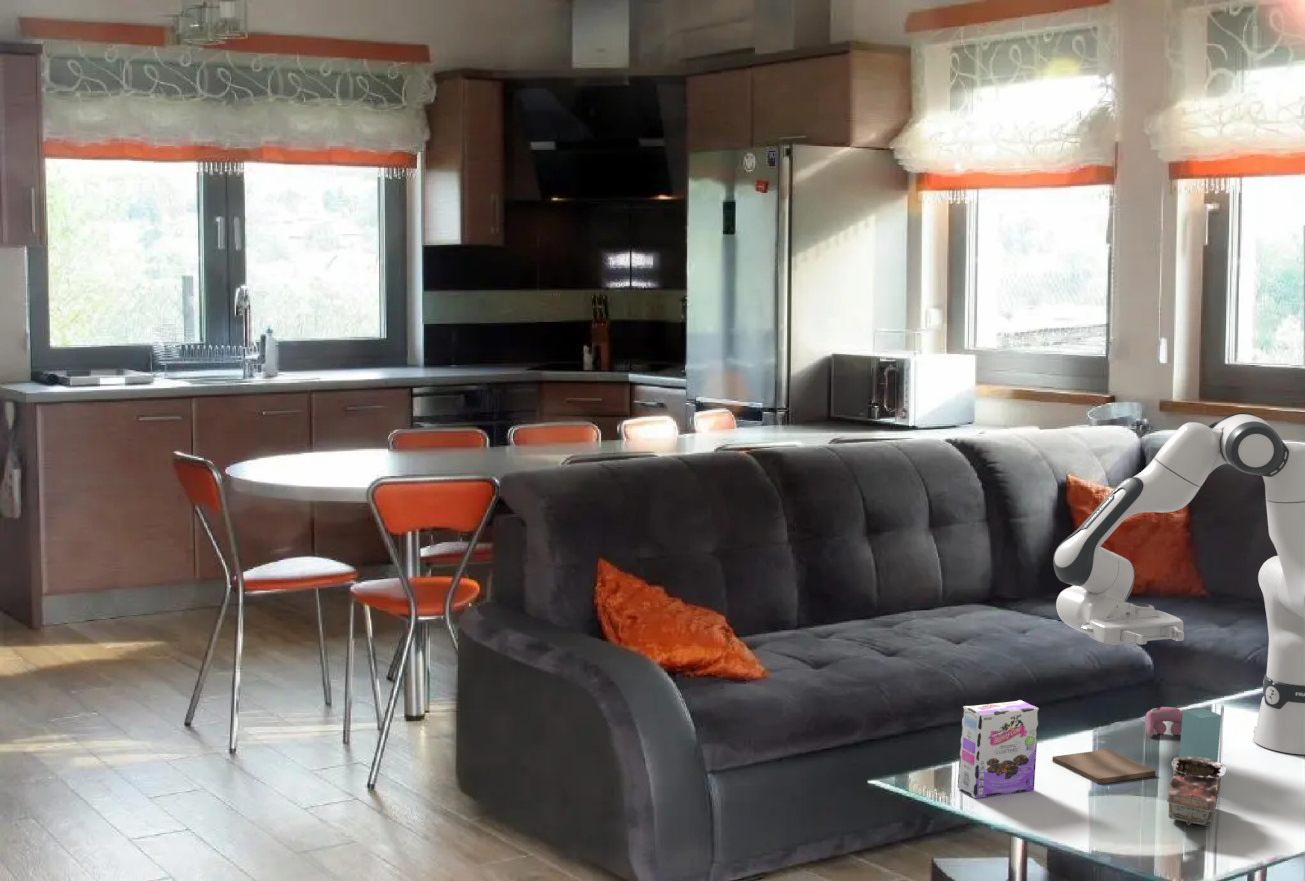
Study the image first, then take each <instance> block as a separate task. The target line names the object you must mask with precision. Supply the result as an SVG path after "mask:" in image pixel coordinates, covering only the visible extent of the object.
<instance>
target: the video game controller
mask: <svg viewBox="0 0 1305 881" xmlns="http://www.w3.org/2000/svg"><path fill="white" fill-rule="evenodd" d="M1183 710H1184V709H1179V708H1176V707H1170V706H1160V707H1155V708H1152V709H1150V710H1148V711H1147V712H1146V713H1145V714H1144V715H1145V717H1144V718H1145V720H1144V721H1145V722H1144V724H1145V731H1146V735H1147V736H1148V737H1149V738H1153V736H1154V731H1155V732H1156V734H1158V735H1163V734H1164V733H1166V732H1167V724H1165V723H1164V722H1171V723H1172V724H1171V725H1170V728H1169V729H1170V730H1169V731H1170V733H1171V734H1172V735H1174V736H1178V735H1181V728H1182V714H1183Z"/></svg>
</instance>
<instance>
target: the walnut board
mask: <svg viewBox="0 0 1305 881" xmlns="http://www.w3.org/2000/svg"><path fill="white" fill-rule="evenodd" d="M1051 762H1053V763H1054V764H1056V765H1059V766H1061V767H1063V768H1065V769H1067V770H1069V771H1070V772H1073V773H1075V774H1077V775H1079V776H1080V777H1083V778H1085V779H1087V780H1089V781H1091V782H1094V783H1095V784H1099V785H1101V784H1107V783H1113V782H1114V783H1115V782H1120V781H1121V782H1122V781H1128V780H1135V779H1143V778H1149V777H1155V776H1156V770H1154V769H1153V768H1150V767H1148V766H1146V765H1143V764H1142V763H1140V762H1137V761H1135V760H1133V759H1130V758H1128V757H1127V756H1124V755H1122V754H1119V753H1118V752H1116V751H1113V750H1111V749H1108V748H1107V749H1101V750H1100V749H1099V750H1093V751H1092V750H1091V751H1086V752H1077V753H1069V754H1063V755H1056V756H1055V755H1054V756H1052V760H1051Z"/></svg>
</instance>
